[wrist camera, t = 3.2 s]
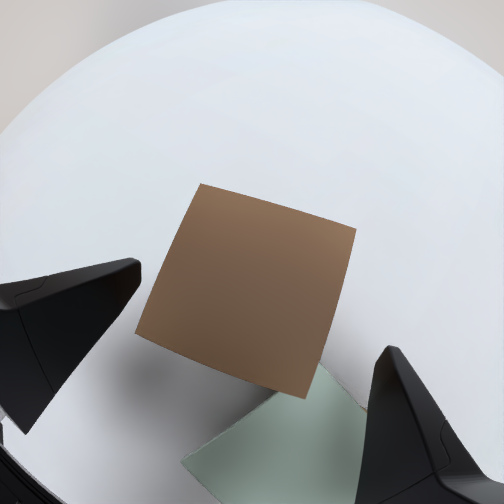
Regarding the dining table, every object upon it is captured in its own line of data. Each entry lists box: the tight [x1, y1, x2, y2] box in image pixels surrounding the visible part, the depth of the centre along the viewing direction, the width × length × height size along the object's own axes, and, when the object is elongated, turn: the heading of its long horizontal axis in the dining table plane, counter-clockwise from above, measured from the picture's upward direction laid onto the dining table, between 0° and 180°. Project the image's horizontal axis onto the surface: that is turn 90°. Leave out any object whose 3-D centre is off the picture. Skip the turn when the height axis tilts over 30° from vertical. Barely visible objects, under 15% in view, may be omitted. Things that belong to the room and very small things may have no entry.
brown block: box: [135, 183, 356, 399], centre depth 12 cm, size 4×4×13 cm
